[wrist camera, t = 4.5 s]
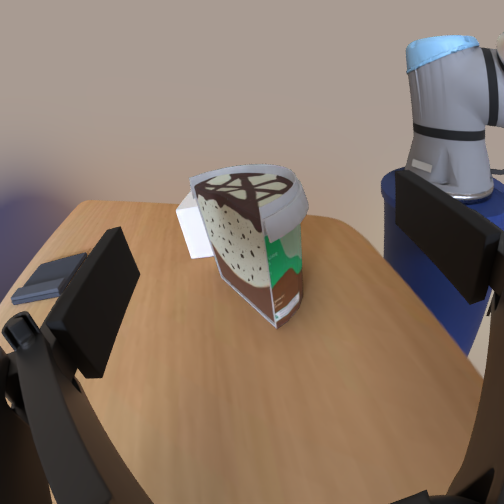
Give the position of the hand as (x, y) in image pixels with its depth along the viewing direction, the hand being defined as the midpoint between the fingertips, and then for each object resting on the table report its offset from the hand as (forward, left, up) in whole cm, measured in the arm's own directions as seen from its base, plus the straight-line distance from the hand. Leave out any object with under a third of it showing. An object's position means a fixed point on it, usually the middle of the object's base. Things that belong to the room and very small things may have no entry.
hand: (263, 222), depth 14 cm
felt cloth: (+31, -20, -11) cm, 38 cm away
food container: (0, -10, -11) cm, 15 cm away
